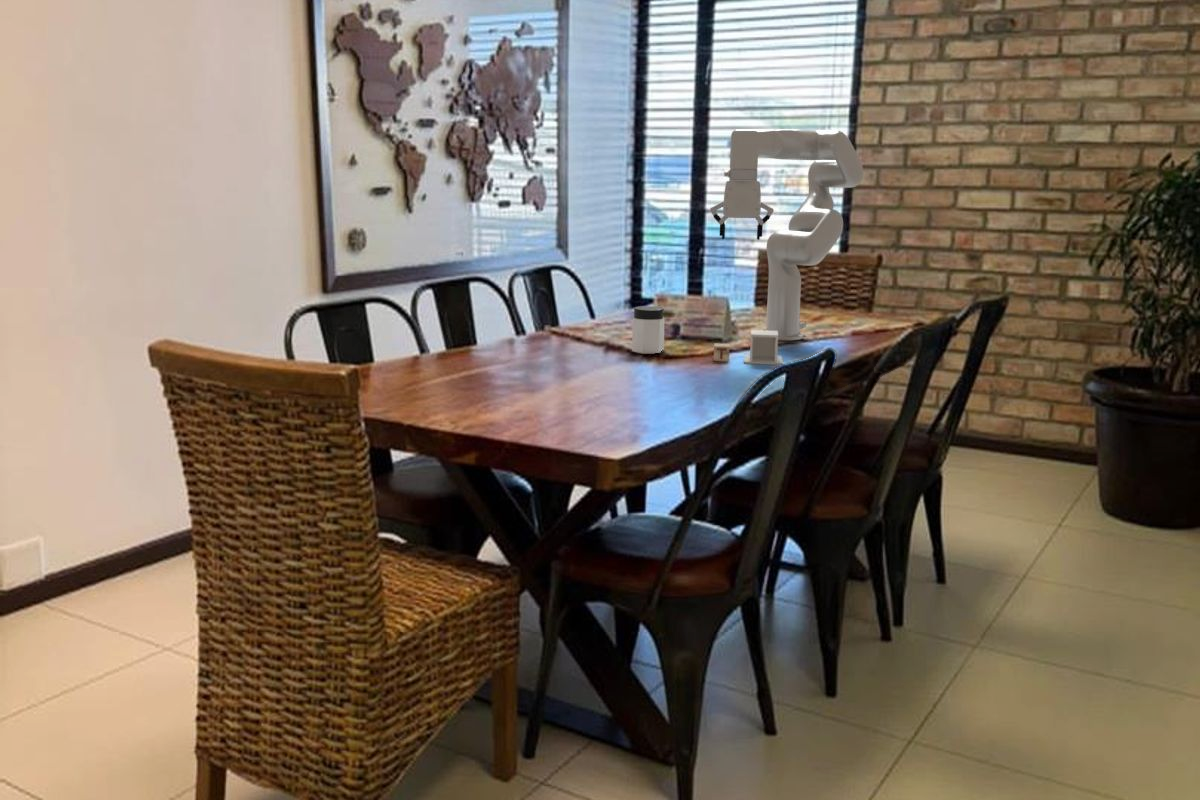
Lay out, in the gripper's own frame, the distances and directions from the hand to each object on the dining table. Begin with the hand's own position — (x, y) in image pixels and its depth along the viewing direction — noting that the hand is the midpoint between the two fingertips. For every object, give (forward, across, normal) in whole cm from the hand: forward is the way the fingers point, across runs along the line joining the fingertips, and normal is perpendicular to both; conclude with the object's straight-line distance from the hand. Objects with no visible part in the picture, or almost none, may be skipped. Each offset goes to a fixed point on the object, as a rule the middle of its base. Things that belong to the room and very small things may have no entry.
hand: (740, 239), depth 285 cm
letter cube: (+30, -4, -20) cm, 36 cm away
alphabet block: (+30, +7, -19) cm, 36 cm away
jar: (+31, -24, -12) cm, 41 cm away
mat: (+30, +7, -19) cm, 37 cm away
